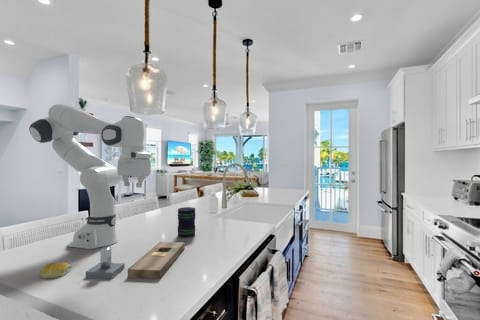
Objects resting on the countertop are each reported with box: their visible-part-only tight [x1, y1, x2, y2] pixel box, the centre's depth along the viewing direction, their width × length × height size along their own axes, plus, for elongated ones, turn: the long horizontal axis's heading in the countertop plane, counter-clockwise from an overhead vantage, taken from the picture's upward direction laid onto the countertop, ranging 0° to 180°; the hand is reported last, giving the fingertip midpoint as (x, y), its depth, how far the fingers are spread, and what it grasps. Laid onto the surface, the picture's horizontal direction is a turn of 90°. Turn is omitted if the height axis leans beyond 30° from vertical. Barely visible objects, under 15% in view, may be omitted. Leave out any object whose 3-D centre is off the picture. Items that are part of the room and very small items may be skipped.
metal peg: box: [99, 246, 112, 270], centre depth 92 cm, size 4×4×7 cm
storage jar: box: [177, 206, 196, 239], centre depth 139 cm, size 10×10×15 cm
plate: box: [85, 262, 126, 279], centre depth 92 cm, size 10×8×2 cm
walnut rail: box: [127, 241, 185, 280], centre depth 103 cm, size 12×30×3 cm, turn 176°
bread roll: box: [39, 261, 72, 279], centre depth 91 cm, size 8×9×4 cm
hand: (132, 186), depth 105 cm, fingers open, 8 cm apart
